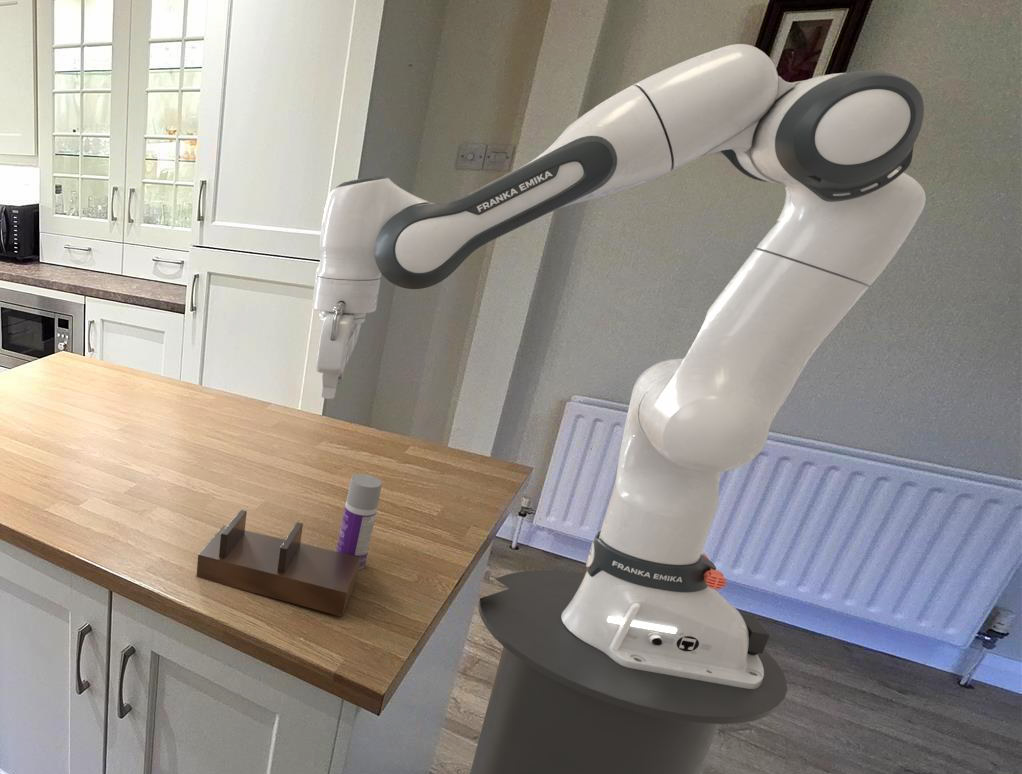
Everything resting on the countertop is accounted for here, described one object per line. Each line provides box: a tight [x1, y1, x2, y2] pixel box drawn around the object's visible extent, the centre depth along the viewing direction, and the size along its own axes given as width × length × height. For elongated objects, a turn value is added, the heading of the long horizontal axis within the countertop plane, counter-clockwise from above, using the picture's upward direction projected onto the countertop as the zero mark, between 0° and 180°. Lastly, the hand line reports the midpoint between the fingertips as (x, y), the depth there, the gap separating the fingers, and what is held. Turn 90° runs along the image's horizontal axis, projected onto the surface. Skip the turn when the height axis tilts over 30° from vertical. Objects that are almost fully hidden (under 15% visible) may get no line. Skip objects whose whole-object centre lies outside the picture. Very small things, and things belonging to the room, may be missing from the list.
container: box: [335, 473, 383, 571], centre depth 117 cm, size 5×5×15 cm
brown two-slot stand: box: [195, 509, 361, 617], centre depth 114 cm, size 22×12×8 cm, turn 60°
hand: (332, 389), depth 111 cm, fingers open, 8 cm apart
